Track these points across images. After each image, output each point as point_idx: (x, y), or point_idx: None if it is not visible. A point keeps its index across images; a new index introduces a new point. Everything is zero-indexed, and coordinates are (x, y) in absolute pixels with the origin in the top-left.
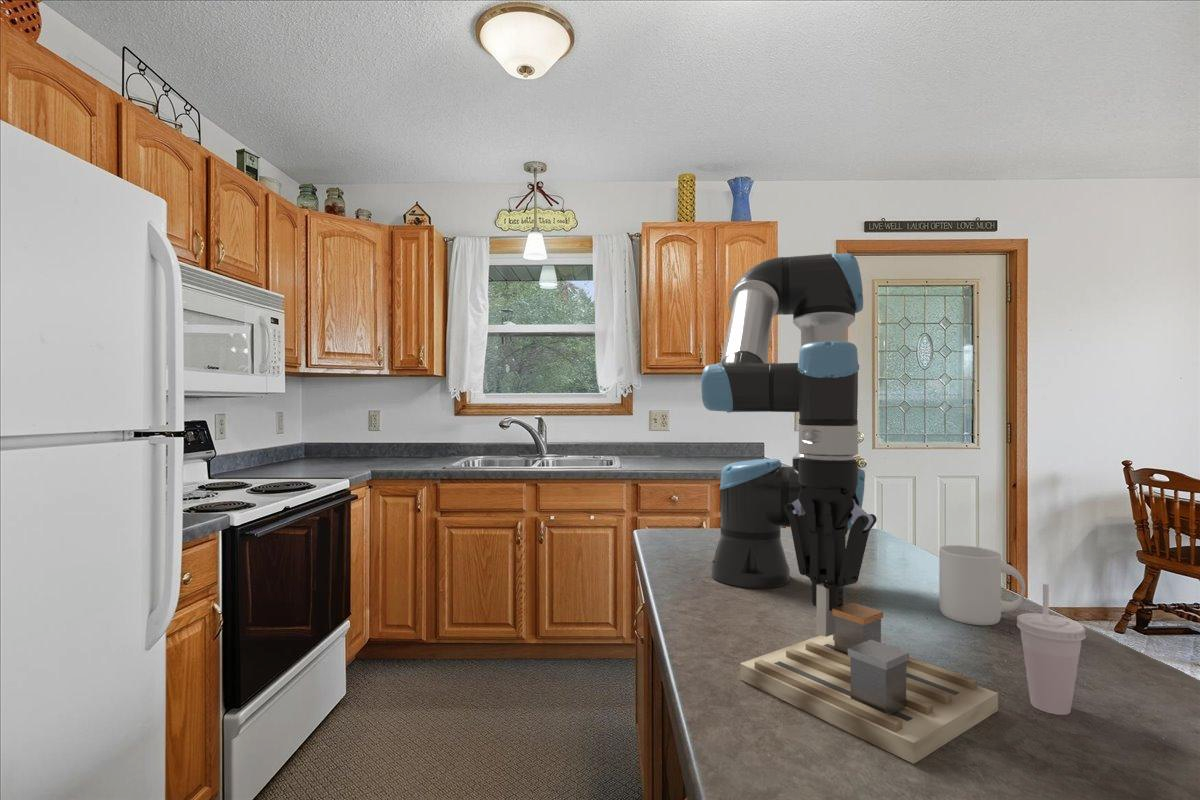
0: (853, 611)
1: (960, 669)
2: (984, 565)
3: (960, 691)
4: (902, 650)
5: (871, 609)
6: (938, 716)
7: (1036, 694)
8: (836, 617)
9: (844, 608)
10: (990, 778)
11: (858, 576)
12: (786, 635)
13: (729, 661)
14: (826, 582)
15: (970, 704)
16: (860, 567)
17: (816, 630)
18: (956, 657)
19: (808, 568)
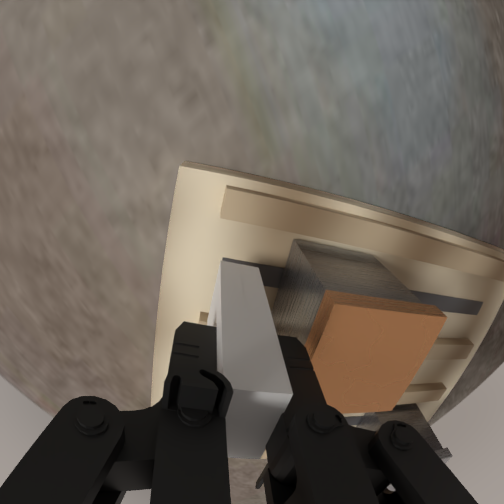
0: (358, 388)
1: (468, 100)
2: None
3: (485, 296)
4: (444, 458)
5: (413, 327)
6: (445, 386)
7: None
8: None
9: (325, 387)
10: (459, 394)
11: (431, 450)
12: (63, 165)
13: (90, 380)
14: (265, 478)
15: (486, 327)
16: (460, 486)
17: (207, 324)
18: (449, 34)
19: (124, 487)
